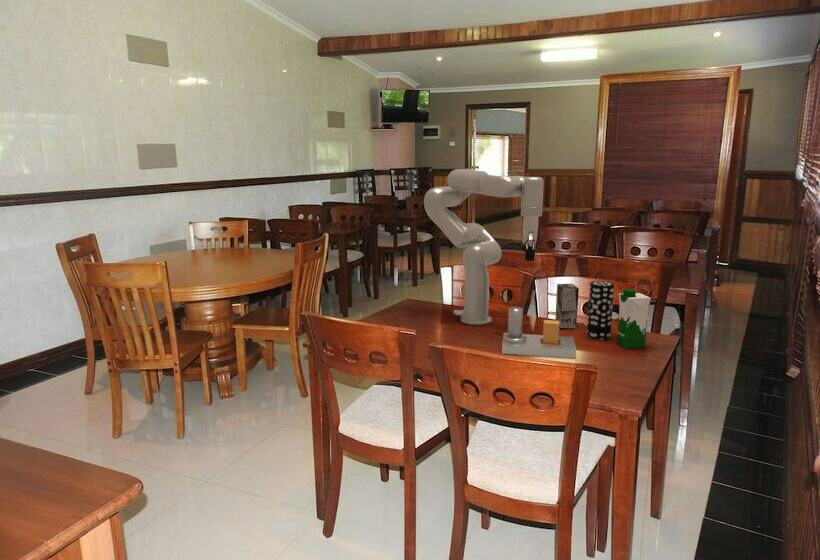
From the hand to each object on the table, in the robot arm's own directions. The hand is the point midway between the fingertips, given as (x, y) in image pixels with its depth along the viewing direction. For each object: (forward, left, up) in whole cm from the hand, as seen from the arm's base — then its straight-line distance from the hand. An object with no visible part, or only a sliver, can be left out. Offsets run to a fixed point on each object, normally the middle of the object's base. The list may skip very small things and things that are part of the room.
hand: (529, 258), depth 209 cm
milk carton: (+36, -8, -28) cm, 47 cm away
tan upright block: (+8, -19, -28) cm, 35 cm away
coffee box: (+15, +12, -28) cm, 34 cm away
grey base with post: (+4, -19, -28) cm, 34 cm away
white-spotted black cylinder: (+26, 0, -28) cm, 39 cm away
